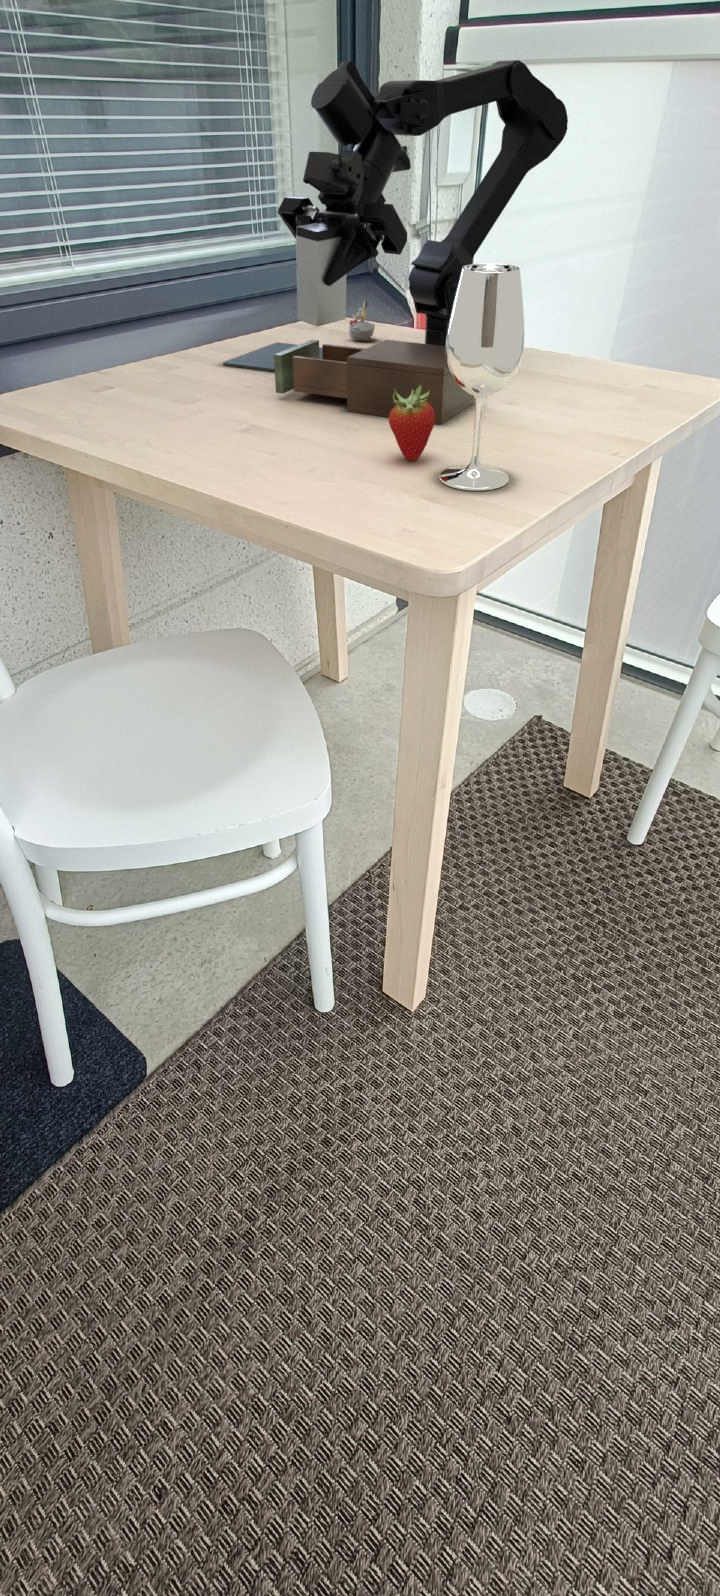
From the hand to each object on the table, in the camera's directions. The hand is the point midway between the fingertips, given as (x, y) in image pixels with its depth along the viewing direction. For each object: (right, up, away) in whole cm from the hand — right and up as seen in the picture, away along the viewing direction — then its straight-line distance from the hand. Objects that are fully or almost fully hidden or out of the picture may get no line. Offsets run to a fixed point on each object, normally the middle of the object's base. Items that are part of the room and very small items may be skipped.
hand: (313, 282), depth 117 cm
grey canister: (+1, -3, +4) cm, 5 cm away
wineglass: (+19, -34, -21) cm, 44 cm away
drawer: (+2, -12, +5) cm, 13 cm away
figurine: (+6, +10, +34) cm, 36 cm away
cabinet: (+13, -16, +1) cm, 21 cm away
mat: (-5, +1, +23) cm, 23 cm away
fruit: (+12, -30, -16) cm, 36 cm away
